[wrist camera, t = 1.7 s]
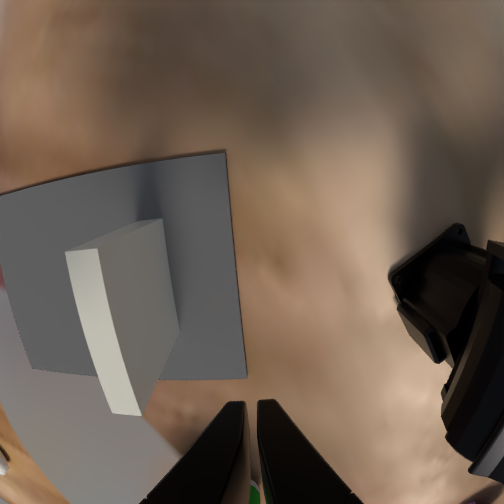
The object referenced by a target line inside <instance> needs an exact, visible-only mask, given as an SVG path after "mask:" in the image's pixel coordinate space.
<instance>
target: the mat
mask: <svg viewBox="0 0 504 504" xmlns="http://www.w3.org/2000/svg"><path fill="white" fill-rule="evenodd" d="M160 218H163V225H164V234H165V241H166V249H167V256H168V263H169V270H170V276H171V283H172V289H173V295H174V301H175V307H176V312H177V318H178V323H179V329H180V332H179V335H178V337H177V339H176V341H175V343H174V345H173V348H172V350H171V352H170V354H169V356H168V359H167V361H166V363H165V365H164V367H163V370H162V372H161V374H160V376H159V378H158V380H222V379H245V378H247V368H246V359H245V350H244V341H243V332H242V322H241V313H240V303H239V293H238V284H237V274H236V263H235V253H234V243H233V232H232V221H231V210H230V199H229V188H228V177H227V165H226V153H218V154H209V155H200V156H192V157H184V158H177V159H170V160H163V161H156V162H150V163H144V164H137V165H132V166H126V167H120V168H115V169H110V170H104V171H99V172H94V173H90V174H85V175H80V176H76V177H71V178H67V179H63V180H58V181H54V182H50V183H46V184H42V185H38V186H34V187H31V188H27V189H23V190H20V191H16V192H12V193H9V194H6V195H2V196H0V264H1V269H2V274H3V278H4V282H5V286H6V290H7V294H8V298H9V301H10V305H11V308H12V312H13V315H14V318H15V321H16V325H17V328H18V331H19V334H20V337H21V340H22V343H23V345H24V348H25V351H26V353H27V356H28V359H29V361H30V363H31V366H32V368H33V369H40V370H47V371H54V372H61V373H69V374H78V375H88V376H98V374H97V372H96V369H95V366H94V363H93V360H92V357H91V354H90V351H89V348H88V344H87V341H86V338H85V335H84V331H83V328H82V324H81V321H80V317H79V313H78V309H77V305H76V301H75V297H74V293H73V289H72V285H71V280H70V275H69V271H68V266H67V261H66V255H65V252H66V251H68V250H70V249H72V248H75V247H77V246H79V245H82V244H84V243H86V242H89V241H91V240H93V239H96V238H98V237H101V236H103V235H106V234H108V233H110V232H113V231H115V230H118V229H120V228H123V227H125V226H128V225H130V224H133V223H135V222H138V221H142V220H151V219H160Z"/></svg>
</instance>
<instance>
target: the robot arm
mask: <svg viewBox="0 0 504 504" xmlns="http://www.w3.org/2000/svg"><path fill="white" fill-rule="evenodd" d="M458 228H459V233H458V234H457V230H458ZM397 276H399V280H398V281H397V282H395V281H394V280H395V278H396V277H397ZM389 283H390V285H391V287H392V289H393V291H394V293H395V295H396V297H397V299H398V301H399V303H400V304H398V306H397V311H398V313H399V315H400V317H401V319H402V321H403V323H404V325H405V327H406V329H407V331H408V333H409V335H410V336H411V337H412V338H413V340H414V341H415V342H416V343H417V344H418V345H419V346H420V347H421V348H422V349H423V351H424V352H425V353H426V354H427V355H428V356H429V357H430V358H431V359H432V361H433V362H434V363H436V364H440V363H441V362H442V361H444V360H445V361H446V362H447V363H448V364H449V365H450V366H451V367H452V372H451V374H450V376H449V379H448V381H447V383H446V384H444V386H443V389H442V391H441V396H442V400H443V403H442V407H441V418H442V420H443V423H444V425H445V428H446V430H447V433H446V435H445V438H446V440H447V442H448V443H449V444H450V445H451V447H452V448H453V449H454V450H455V451H456V452H457V453H459V454H460V455H461V456H462V457H464V458H465V459H467V460H469V461H471V462H473V463H472V464H471V466H470V467H469V468H468V472H469V473H470V474H473V475H478V476H484V477H488V478H491V479H493V480H496V481H498V482H501V483H503V484H504V243H502V242H497V241H492V240H488V242H487V247H486V250H484V249H482V248H479V247H476V246H474V245H471V243H470V240H469V237H468V235H467V232H466V229H465V227H464V225H462V224H460V223H455V224H453V225H452V226H451V227H450V228H449V229H447V230H446V231H445V232H444V233H442V234H441V235H440V236H439V237H437V238H436V239H435V240H434V241H432V242H431V243H430V244H429V245H427V246H426V247H425V248H423V249H422V250H421V251H420V252H418V253H417V254H416V255H414V256H413V257H412V258H410V259H409V260H408V261H406V262H405V263H404V264H402V265H401V266H400V267H398V268H397V269H396V270H394V271H393V272H392V273H391V274H390V275H389ZM257 439H258V448H259V456H260V465H261V473H262V482H263V489H264V495H265V500H266V504H364V503H363V502H362V501H361V500H360V499H359V498H358V497H357V496H356V494H355V493H351V492H352V491H351V489H350V488H349V487H348V486H347V485H346V484H345V483H344V481H343V480H342V479H341V478H340V477H339V476H338V475H337V473H336V472H335V471H334V470H333V469H332V468H331V467H330V465H329V464H328V463H327V462H326V461H325V459H324V458H323V457H322V456H321V455H320V454H319V452H318V451H317V450H316V449H315V448H314V446H313V445H312V444H311V443H310V442H309V440H308V439H307V438H306V437H305V436H304V434H303V433H302V432H301V431H300V429H299V428H298V427H297V426H296V424H295V423H294V422H293V421H292V419H291V418H290V417H289V416H288V414H287V413H286V412H285V411H284V409H283V408H282V407H281V406H280V404H279V403H278V402H277V401H276V400H275V399H265V400H259V401H258V402H257ZM250 486H251V470H250V431H249V421H248V414H247V406H246V403H245V401H229V402H227V403H226V404H225V405H224V407H223V408H222V409H221V410H220V412H219V413H218V414H217V415H216V417H215V418H214V419H213V420H212V422H211V423H210V424H209V425H208V426H207V428H206V429H205V430H204V431H203V432H202V434H201V435H200V436H199V437H198V438H197V440H196V441H195V442H194V443H193V444H192V446H191V447H190V448H189V449H188V450H187V451H186V453H185V454H184V455H183V456H182V457H181V458H180V459H179V461H178V462H177V463H176V464H175V465H174V466H173V467H172V469H171V470H170V471H169V472H168V473H167V474H166V475H165V476H164V478H163V479H162V480H161V481H160V482H159V483H158V484H157V485H156V486H155V487H154V489H153V490H152V491H151V492H150V493H149V494H148V495H147V499H146V498H144V499H143V500H142V501H141V502H140V503H139V504H249V496H250Z"/></svg>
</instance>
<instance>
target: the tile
mask: <svg viewBox="0 0 504 504" xmlns="http://www.w3.org/2000/svg"><path fill="white" fill-rule="evenodd" d="M65 255H66V261H67V266H68V271H69V275H70V280H71V285H72V289H73V293H74V297H75V301H76V305H77V309H78V313H79V317H80V321H81V324H82V328H83V331H84V335H85V338H86V341H87V344H88V348H89V351H90V354H91V357H92V360H93V363H94V366H95V369H96V372H97V374H98V377H99V380H100V383H101V385H102V388H103V391H104V393H105V396H106V398H107V401H108V403H109V406H110V408H111V411H112V413H116V414H125V415H136V416H142V415H143V412H144V410H145V408H146V405H147V403H148V401H149V399H150V396H151V394H152V392H153V390H154V387H155V385H156V383H157V381H158V378H159V376H160V374H161V372H162V370H163V367H164V365H165V363H166V361H167V359H168V356H169V354H170V352H171V350H172V348H173V345H174V343H175V341H176V339H177V337H178V335H179V332H180V329H179V323H178V318H177V312H176V307H175V301H174V295H173V289H172V283H171V276H170V270H169V263H168V256H167V249H166V241H165V234H164V225H163V218H160V219H151V220H142V221H138V222H135V223H133V224H130V225H128V226H125V227H123V228H120V229H118V230H115V231H113V232H110V233H108V234H106V235H103V236H101V237H98V238H96V239H93V240H91V241H89V242H86V243H84V244H82V245H79V246H77V247H75V248H72V249H70V250H68V251H66V252H65Z"/></svg>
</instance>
